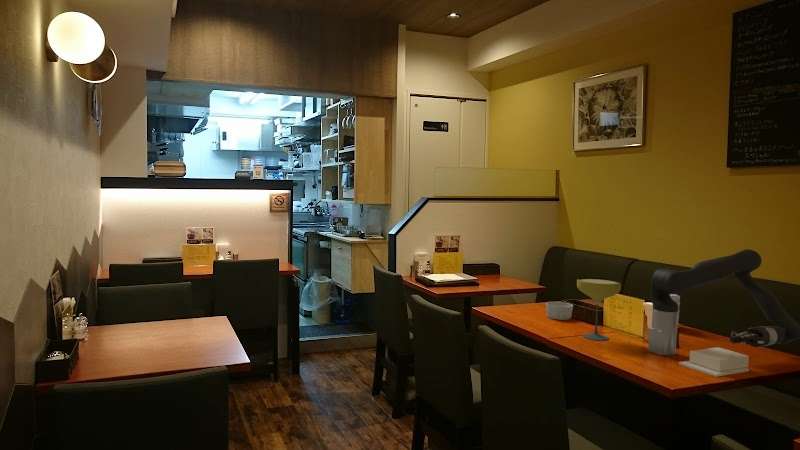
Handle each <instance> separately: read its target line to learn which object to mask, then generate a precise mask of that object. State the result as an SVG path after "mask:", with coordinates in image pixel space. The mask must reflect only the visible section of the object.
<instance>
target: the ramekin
mask: <svg viewBox="0 0 800 450" xmlns="http://www.w3.org/2000/svg"><path fill="white" fill-rule="evenodd" d="M545 306H546V310H545V311H546V316H547V318H549V319H551V320H559V321H567V320H570V319H571V318H572V313H573V309H574V305H573V304H571V303H569V302H568V303H567V302H562V301H548V302H545Z"/></svg>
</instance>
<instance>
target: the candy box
mask: <svg viewBox="0 0 800 450" xmlns="http://www.w3.org/2000/svg"><path fill="white" fill-rule="evenodd" d="M670 296H671V298H672V299H673V301H675V302H676V303H677V304H678V320H677V324H678V326H679V323H680V322H679V321H680V306H681V295H678V294H670Z"/></svg>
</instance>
